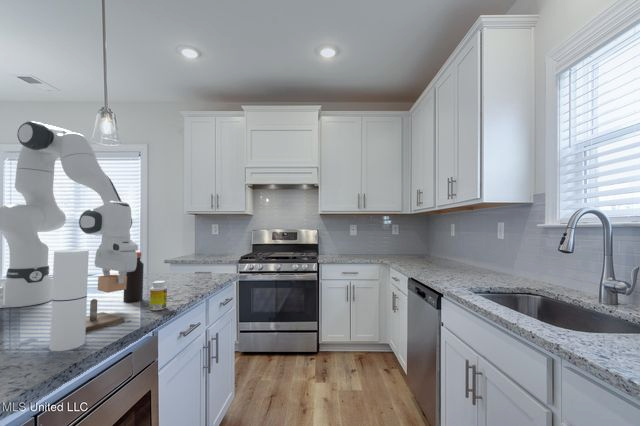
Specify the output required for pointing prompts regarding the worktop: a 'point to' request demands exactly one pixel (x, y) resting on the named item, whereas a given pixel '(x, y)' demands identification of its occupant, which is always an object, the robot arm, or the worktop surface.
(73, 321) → the cylindrical container
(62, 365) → the worktop surface
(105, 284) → the light brown block
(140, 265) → the vinegar
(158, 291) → the supplement bottle
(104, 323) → the pin stand
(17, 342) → the worktop surface
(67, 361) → the worktop surface
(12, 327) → the worktop surface
